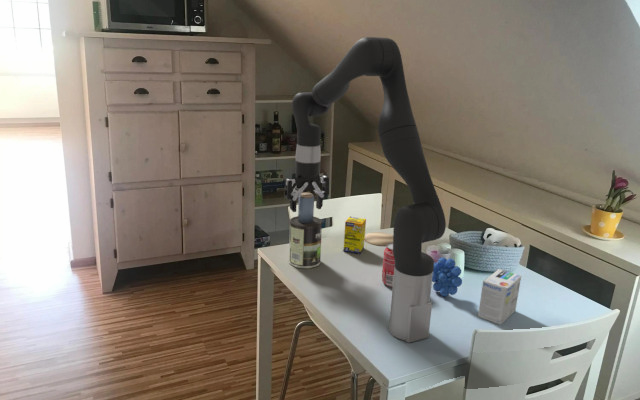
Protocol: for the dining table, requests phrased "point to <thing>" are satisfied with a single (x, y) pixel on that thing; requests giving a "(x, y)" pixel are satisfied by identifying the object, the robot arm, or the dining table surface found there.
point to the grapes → (446, 277)
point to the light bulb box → (499, 296)
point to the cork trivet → (379, 238)
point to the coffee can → (305, 243)
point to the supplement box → (354, 235)
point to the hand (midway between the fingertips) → (306, 209)
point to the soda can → (388, 265)
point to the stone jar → (306, 208)
